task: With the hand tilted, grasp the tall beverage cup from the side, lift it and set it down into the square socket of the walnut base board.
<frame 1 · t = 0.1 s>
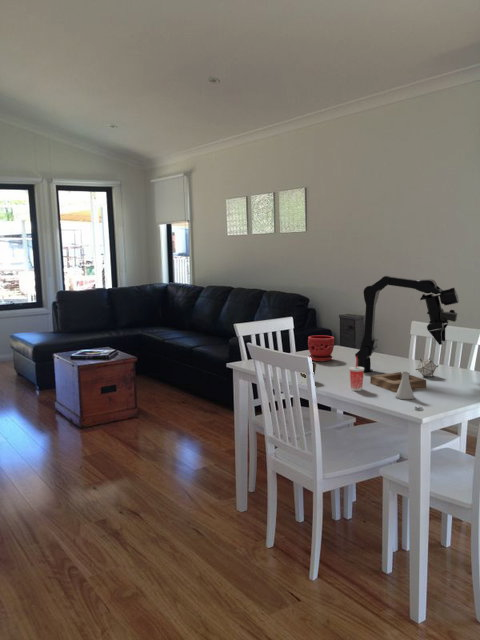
hand: (442, 342, 251), 15 cm above the table, tool pointing down, fingers open, 9 cm apart
flask: (404, 398, 223), on the table
beverage cup: (356, 390, 236), on the table
spiky beige ball: (426, 377, 256), on the table
base board: (397, 385, 241), on the table
plant pot: (321, 360, 295), on the table
cup: (307, 381, 251), on the table
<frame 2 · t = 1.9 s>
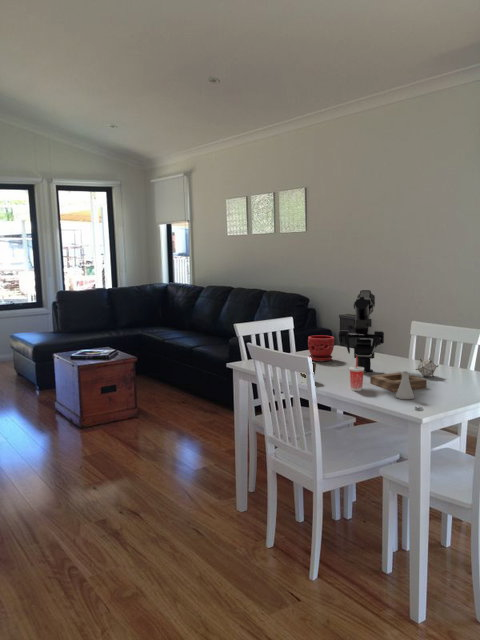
hand: (360, 353, 242), 13 cm above the table, tool tilted 45°, fingers open, 9 cm apart
nothing on the table moved.
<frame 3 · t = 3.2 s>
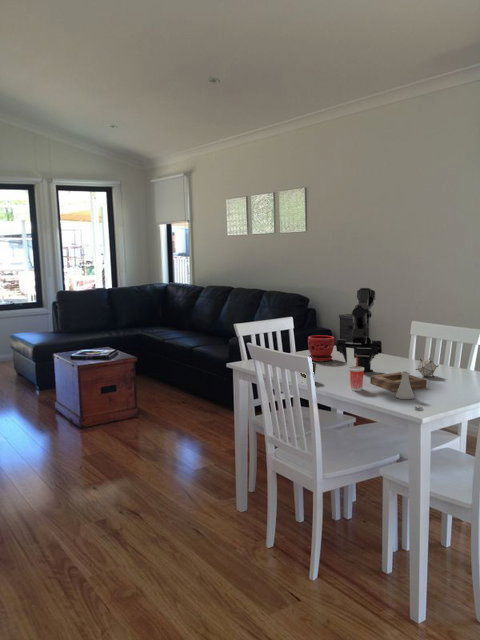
hand: (357, 362, 238), 10 cm above the table, tool tilted 45°, fingers open, 9 cm apart
nothing on the table moved.
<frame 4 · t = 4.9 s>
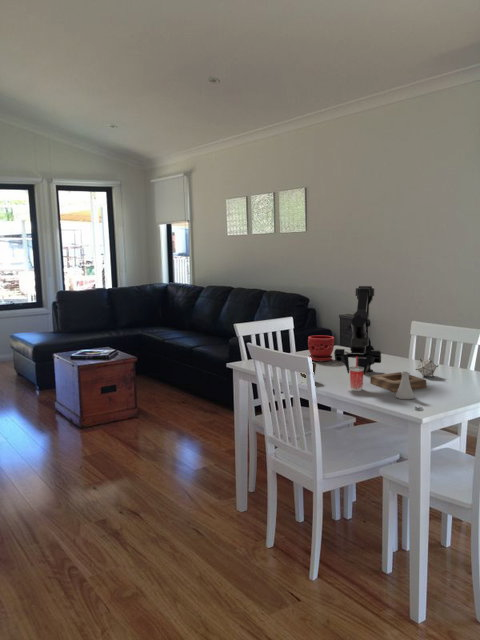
hand: (356, 373, 234), 7 cm above the table, tool tilted 45°, fingers closed on beverage cup, 6 cm apart
beverage cup: (356, 389, 236), on the table, touching gripper
everything else where it was.
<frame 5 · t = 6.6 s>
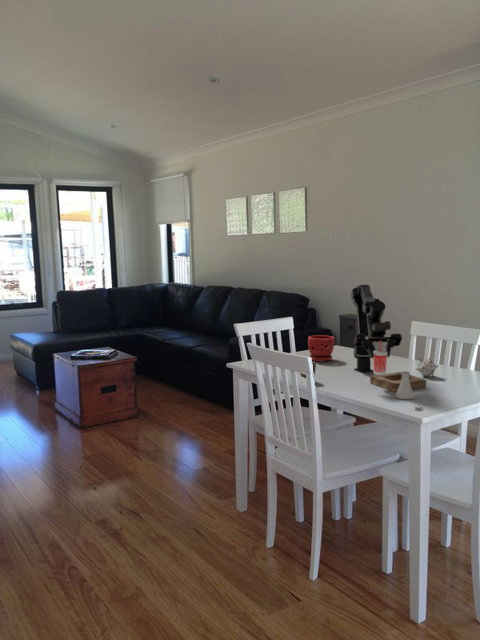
hand: (380, 357, 235), 13 cm above the table, tool tilted 45°, fingers closed on beverage cup, 6 cm apart
beverage cup: (379, 374, 237), point 6 cm above the table, touching gripper
everything else where it was.
when the fingers open (10 cm above the table, at t = 8.4 s): beverage cup stays where it is, resting on base board.
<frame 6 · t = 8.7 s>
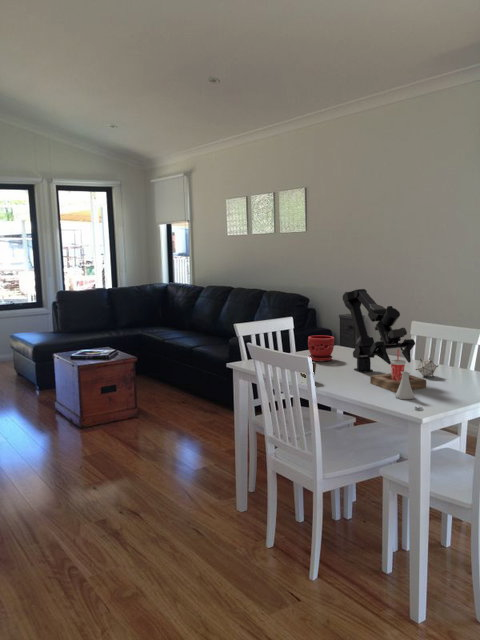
hand: (400, 363, 239), 10 cm above the table, tool tilted 45°, fingers open, 9 cm apart
beverage cup: (397, 382, 241), point 1 cm above the table, touching base board
everything else where it was.
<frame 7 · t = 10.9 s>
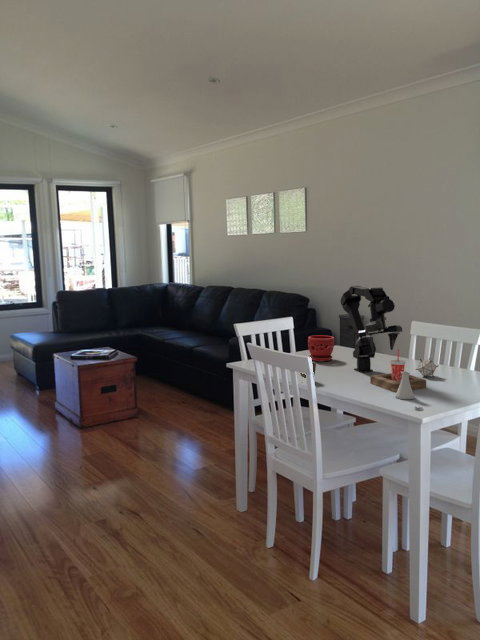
hand: (382, 351, 251), 12 cm above the table, tool tilted 15°, fingers open, 9 cm apart
nothing on the table moved.
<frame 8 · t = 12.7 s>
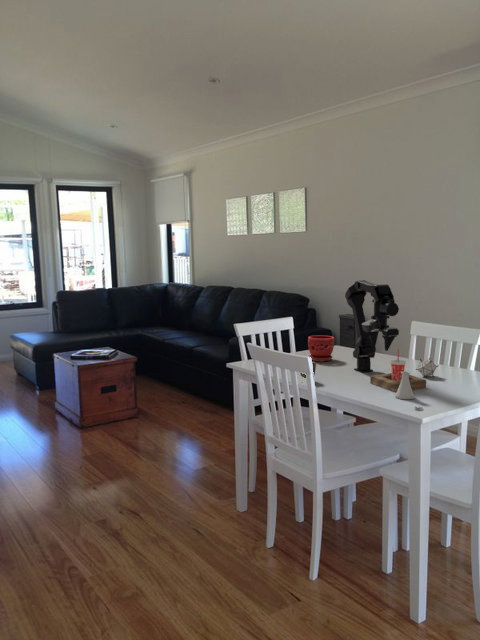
hand: (379, 348, 253), 13 cm above the table, tool pointing down, fingers open, 9 cm apart
nothing on the table moved.
at the end: beverage cup inside the target area on the base board (0.2 cm from its centre), point 1.0 cm above the base board's base; beverage cup tilted 0°; the gripper is holding nothing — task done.
